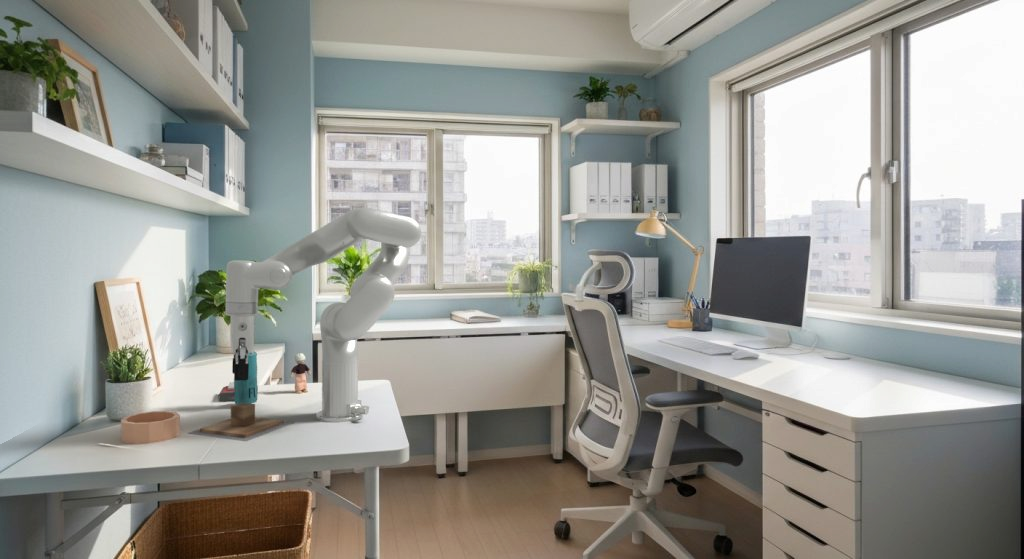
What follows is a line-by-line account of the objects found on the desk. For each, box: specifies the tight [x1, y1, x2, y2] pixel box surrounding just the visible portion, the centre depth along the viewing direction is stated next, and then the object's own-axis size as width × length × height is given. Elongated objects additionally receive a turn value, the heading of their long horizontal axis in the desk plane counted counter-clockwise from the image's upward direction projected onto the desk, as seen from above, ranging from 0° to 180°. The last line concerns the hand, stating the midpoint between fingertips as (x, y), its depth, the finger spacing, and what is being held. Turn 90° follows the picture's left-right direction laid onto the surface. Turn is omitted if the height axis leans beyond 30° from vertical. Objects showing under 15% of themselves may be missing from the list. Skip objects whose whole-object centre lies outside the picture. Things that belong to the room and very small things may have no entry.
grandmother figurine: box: [289, 352, 312, 394], centre depth 206 cm, size 8×4×13 cm, turn 154°
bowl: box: [120, 410, 181, 445], centre depth 154 cm, size 12×12×5 cm
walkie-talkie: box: [218, 381, 234, 403], centre depth 201 cm, size 9×4×20 cm
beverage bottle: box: [233, 350, 259, 405], centre depth 185 cm, size 6×7×20 cm
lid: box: [199, 403, 285, 438], centre depth 162 cm, size 14×14×6 cm
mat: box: [187, 420, 296, 442], centre depth 163 cm, size 18×18×1 cm
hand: (240, 376), depth 162 cm, fingers open, 9 cm apart
